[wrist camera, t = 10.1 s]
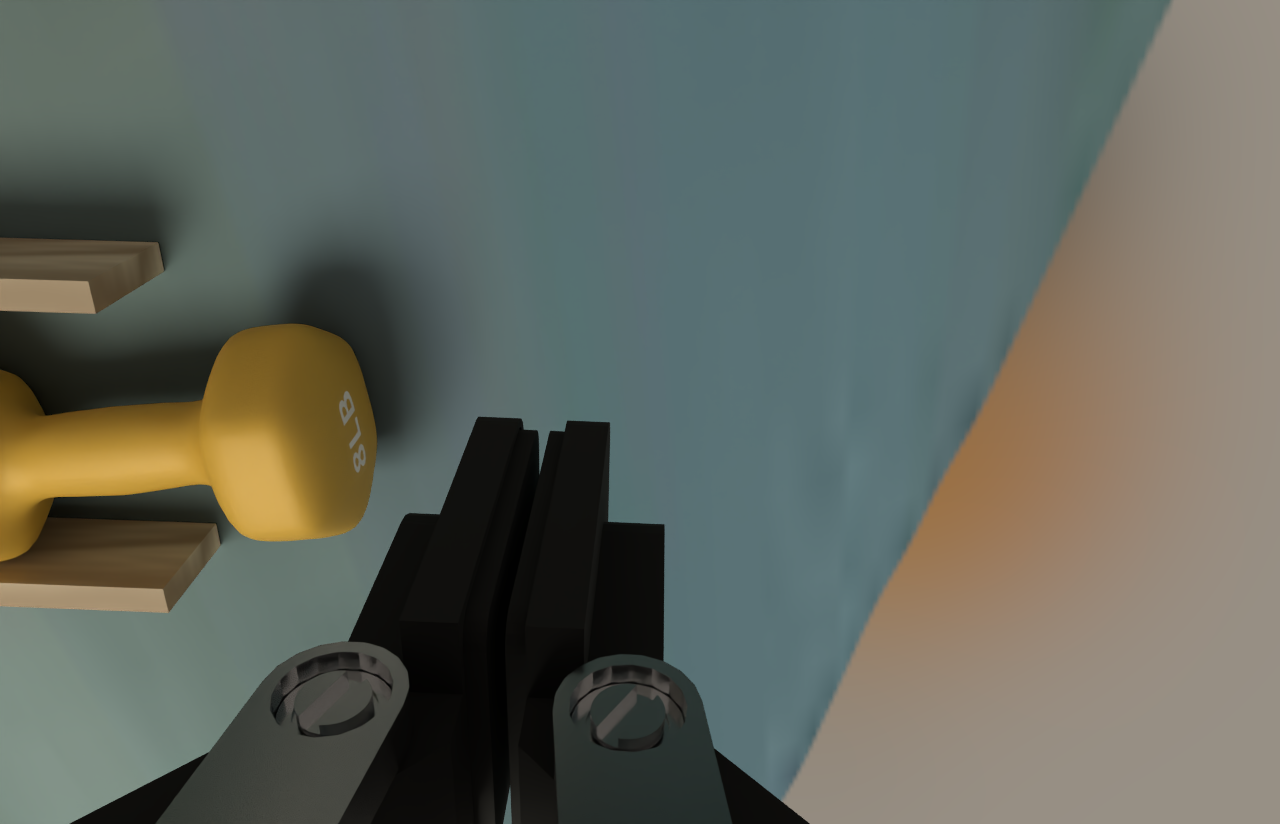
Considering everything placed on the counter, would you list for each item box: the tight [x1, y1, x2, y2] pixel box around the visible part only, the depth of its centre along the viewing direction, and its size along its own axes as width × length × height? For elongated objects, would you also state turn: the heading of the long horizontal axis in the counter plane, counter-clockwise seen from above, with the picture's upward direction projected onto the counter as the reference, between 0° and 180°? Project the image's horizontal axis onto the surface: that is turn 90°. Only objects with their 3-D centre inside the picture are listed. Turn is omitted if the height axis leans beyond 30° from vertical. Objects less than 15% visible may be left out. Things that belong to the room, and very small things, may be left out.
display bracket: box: [0, 238, 221, 613], centre depth 39 cm, size 14×12×5 cm
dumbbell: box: [0, 323, 377, 562], centre depth 38 cm, size 19×9×8 cm, turn 96°
